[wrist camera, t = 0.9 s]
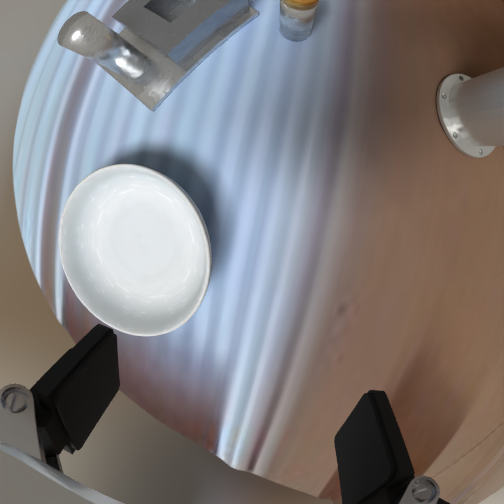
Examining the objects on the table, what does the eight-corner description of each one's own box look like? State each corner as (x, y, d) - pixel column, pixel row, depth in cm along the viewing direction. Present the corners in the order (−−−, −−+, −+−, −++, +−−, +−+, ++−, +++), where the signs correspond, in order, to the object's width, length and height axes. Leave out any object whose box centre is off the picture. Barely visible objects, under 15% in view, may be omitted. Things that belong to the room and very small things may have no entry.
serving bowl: (66, 220, 36) (37, 229, 29) (167, 132, 32) (143, 124, 25) (138, 332, 40) (119, 357, 34) (253, 271, 36) (248, 293, 29)
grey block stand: (190, -23, 24) (158, -82, 10) (258, 15, 26) (249, -57, 12) (98, 63, 29) (31, 32, 15) (153, 111, 31) (85, 83, 17)
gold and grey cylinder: (294, 13, 26) (298, -30, 16) (317, 30, 26) (329, -10, 17) (272, 29, 27) (271, -14, 17) (296, 46, 27) (303, 6, 18)
